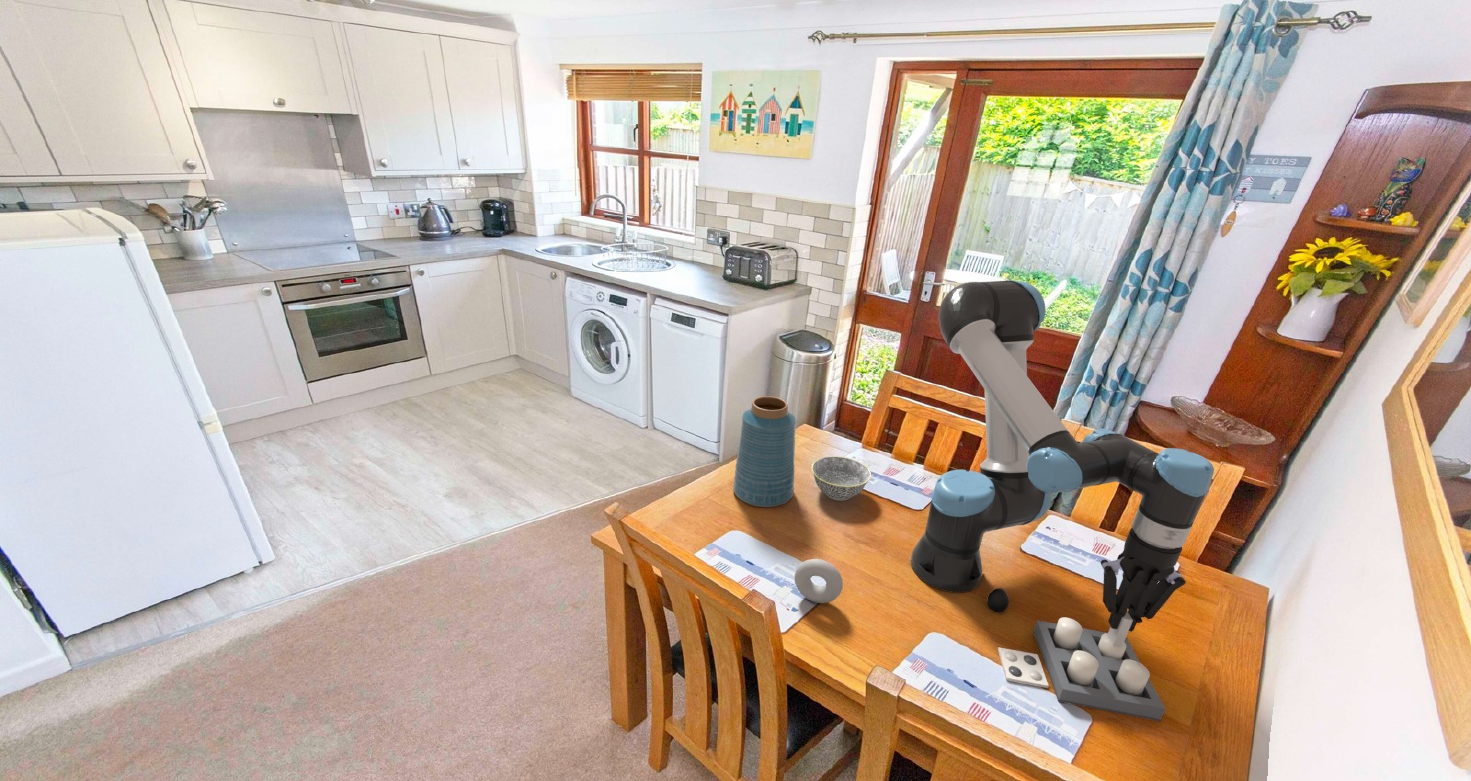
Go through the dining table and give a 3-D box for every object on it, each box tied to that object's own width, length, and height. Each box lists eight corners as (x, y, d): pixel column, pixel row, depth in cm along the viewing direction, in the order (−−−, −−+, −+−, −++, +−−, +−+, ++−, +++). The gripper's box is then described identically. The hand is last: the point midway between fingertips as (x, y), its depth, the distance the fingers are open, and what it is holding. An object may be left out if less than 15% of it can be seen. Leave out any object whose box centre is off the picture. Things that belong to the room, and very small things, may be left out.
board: (1058, 701, 99) (1062, 688, 98) (1033, 631, 114) (1036, 620, 113) (1159, 721, 97) (1165, 708, 96) (1120, 647, 111) (1125, 635, 110)
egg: (1008, 617, 117) (1014, 598, 115) (987, 613, 118) (993, 595, 116) (1003, 602, 121) (1009, 584, 119) (983, 599, 122) (988, 581, 120)
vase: (748, 515, 146) (754, 421, 135) (723, 482, 159) (727, 394, 149) (804, 503, 152) (814, 412, 141) (776, 472, 166) (783, 387, 155)
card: (1006, 679, 103) (1007, 677, 103) (997, 649, 109) (998, 646, 109) (1047, 687, 102) (1048, 685, 102) (1036, 656, 108) (1037, 653, 108)
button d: (1099, 663, 107) (1106, 647, 105) (1092, 647, 110) (1098, 631, 109) (1123, 668, 106) (1130, 652, 104) (1114, 651, 110) (1121, 635, 108)
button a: (1070, 683, 100) (1077, 666, 98) (1063, 664, 103) (1069, 648, 102) (1095, 688, 99) (1102, 671, 98) (1087, 669, 103) (1093, 652, 101)
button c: (1056, 647, 107) (1062, 631, 106) (1050, 631, 111) (1055, 615, 109) (1079, 651, 106) (1085, 635, 105) (1072, 635, 110) (1078, 619, 109)
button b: (1120, 692, 99) (1128, 675, 97) (1111, 673, 102) (1118, 657, 101) (1146, 697, 98) (1154, 680, 96) (1136, 678, 101) (1143, 661, 100)
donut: (841, 600, 119) (847, 562, 115) (838, 612, 116) (844, 573, 112) (794, 588, 122) (798, 550, 118) (790, 598, 119) (794, 560, 115)
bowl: (809, 475, 165) (811, 452, 162) (865, 481, 163) (868, 458, 160) (808, 506, 150) (811, 482, 147) (869, 514, 149) (873, 489, 146)
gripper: (1123, 544, 95) (1083, 649, 104) (1211, 557, 93) (1162, 664, 102) (1106, 518, 102) (1070, 619, 111) (1187, 529, 99) (1143, 632, 109)
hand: (1114, 640), depth 106 cm, fingers closed
